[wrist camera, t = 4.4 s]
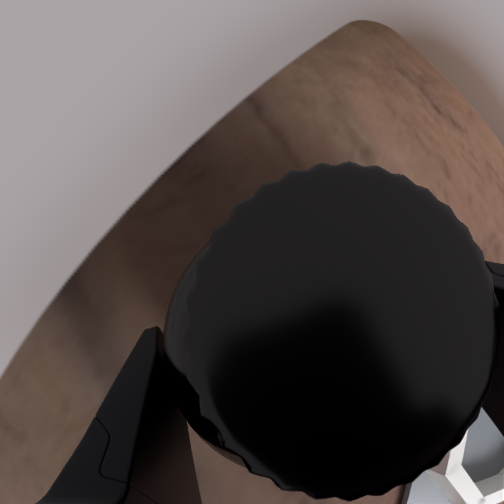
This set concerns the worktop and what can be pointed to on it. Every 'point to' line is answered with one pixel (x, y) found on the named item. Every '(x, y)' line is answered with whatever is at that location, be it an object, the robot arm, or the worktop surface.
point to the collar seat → (465, 470)
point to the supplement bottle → (334, 333)
